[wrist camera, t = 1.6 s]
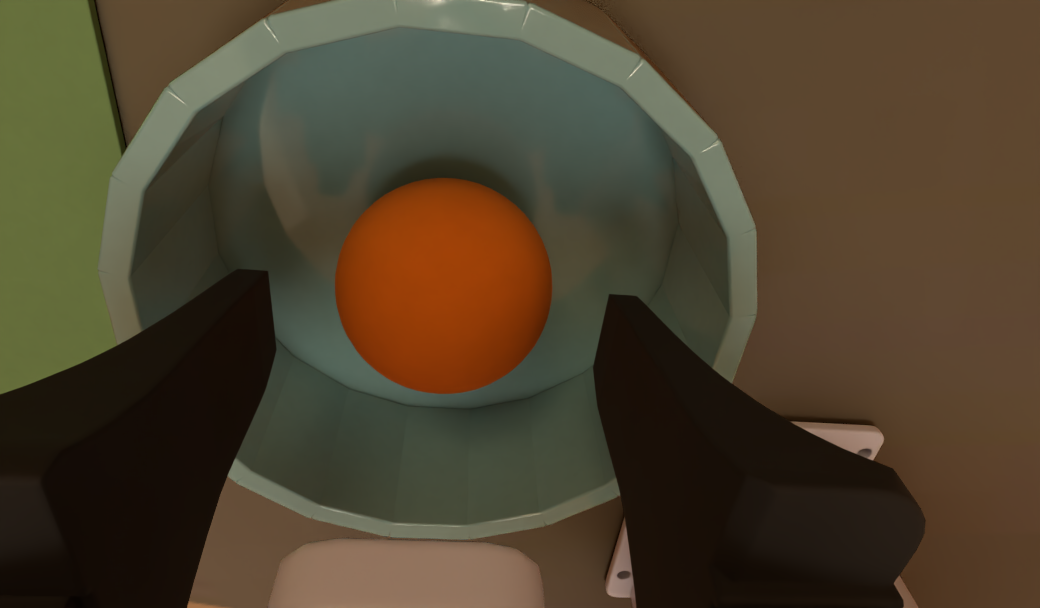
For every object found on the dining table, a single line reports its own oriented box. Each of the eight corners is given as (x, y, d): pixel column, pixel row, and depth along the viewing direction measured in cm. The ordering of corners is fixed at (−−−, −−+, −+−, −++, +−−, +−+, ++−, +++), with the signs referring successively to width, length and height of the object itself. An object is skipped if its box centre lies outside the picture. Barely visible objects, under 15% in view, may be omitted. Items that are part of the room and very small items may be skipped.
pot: (637, 422, 22) (672, 547, 18) (227, 401, 21) (165, 531, 17) (758, -8, 15) (860, 39, 11) (147, -81, 14) (7, -58, 10)
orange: (531, 320, 19) (545, 445, 15) (355, 308, 19) (320, 435, 15) (555, 155, 17) (581, 252, 12) (351, 136, 16) (306, 231, 12)
